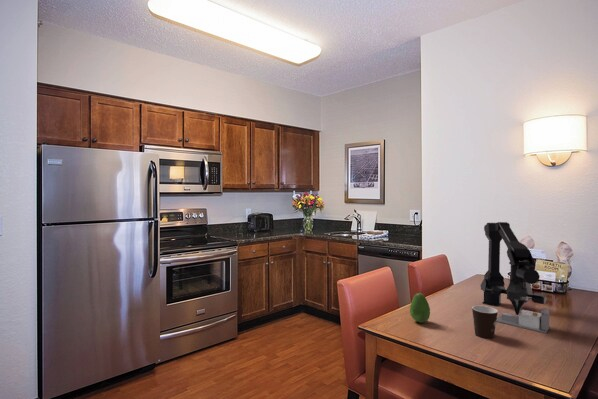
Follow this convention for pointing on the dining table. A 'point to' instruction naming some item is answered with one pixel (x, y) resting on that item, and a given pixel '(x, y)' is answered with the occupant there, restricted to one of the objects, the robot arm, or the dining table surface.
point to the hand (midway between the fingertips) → (517, 314)
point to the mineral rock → (529, 288)
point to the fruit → (420, 308)
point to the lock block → (530, 319)
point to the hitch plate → (514, 321)
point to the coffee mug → (484, 321)
